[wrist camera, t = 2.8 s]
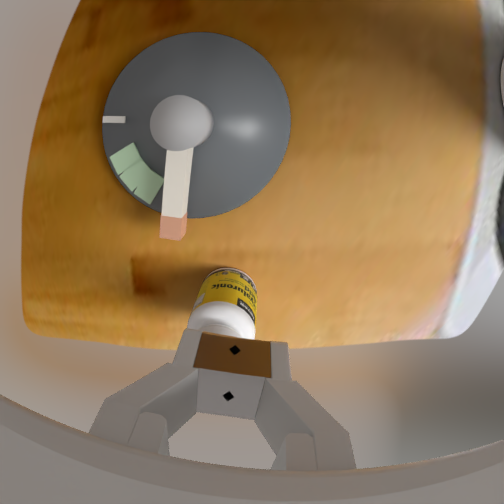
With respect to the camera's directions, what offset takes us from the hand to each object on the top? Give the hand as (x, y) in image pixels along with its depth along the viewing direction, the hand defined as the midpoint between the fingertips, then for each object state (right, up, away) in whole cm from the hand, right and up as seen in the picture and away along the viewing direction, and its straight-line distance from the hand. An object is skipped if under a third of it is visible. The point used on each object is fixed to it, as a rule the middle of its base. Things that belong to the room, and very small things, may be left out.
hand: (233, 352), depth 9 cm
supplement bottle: (-2, -1, +21) cm, 21 cm away
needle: (-5, +10, +15) cm, 19 cm away
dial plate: (-4, +14, +15) cm, 21 cm away
